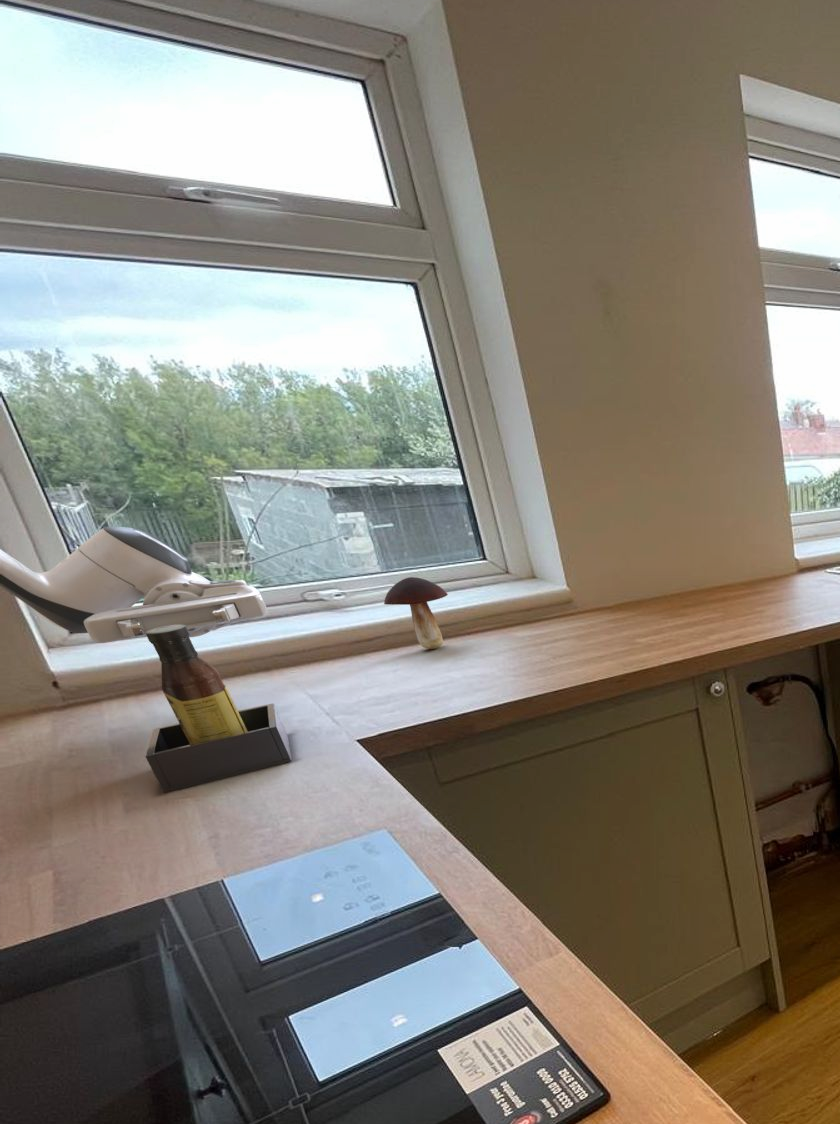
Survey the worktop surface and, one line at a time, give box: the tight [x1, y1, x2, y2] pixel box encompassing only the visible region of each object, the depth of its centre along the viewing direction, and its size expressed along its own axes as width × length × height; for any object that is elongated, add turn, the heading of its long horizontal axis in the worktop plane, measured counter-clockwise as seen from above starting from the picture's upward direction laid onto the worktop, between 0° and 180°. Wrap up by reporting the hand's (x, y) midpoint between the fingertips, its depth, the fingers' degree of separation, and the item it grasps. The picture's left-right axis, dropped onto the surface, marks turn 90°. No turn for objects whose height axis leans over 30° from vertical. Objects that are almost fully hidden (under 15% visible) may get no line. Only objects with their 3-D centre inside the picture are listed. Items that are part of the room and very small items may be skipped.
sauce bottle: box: [146, 625, 248, 745], centre depth 114 cm, size 6×6×20 cm
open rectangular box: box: [145, 703, 292, 794], centre depth 117 cm, size 14×14×6 cm
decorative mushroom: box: [383, 576, 449, 650], centre depth 166 cm, size 11×11×15 cm
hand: (178, 624), depth 120 cm, fingers open, 8 cm apart
